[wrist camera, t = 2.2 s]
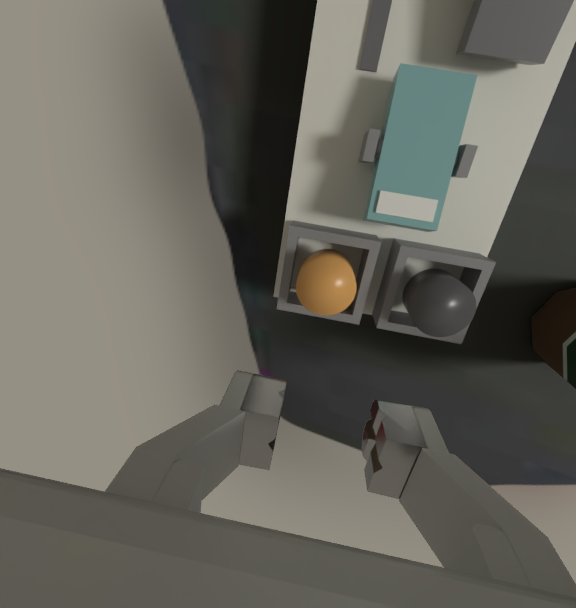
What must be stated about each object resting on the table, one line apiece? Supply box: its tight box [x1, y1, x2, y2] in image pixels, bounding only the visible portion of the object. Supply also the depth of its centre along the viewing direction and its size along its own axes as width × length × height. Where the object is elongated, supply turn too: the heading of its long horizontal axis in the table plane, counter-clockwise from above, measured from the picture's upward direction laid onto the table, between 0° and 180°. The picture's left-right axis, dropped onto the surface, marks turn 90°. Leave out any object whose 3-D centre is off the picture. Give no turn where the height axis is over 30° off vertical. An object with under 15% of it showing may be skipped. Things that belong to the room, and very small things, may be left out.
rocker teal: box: [363, 63, 477, 232], centre depth 18 cm, size 8×4×2 cm, turn 171°
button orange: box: [296, 249, 357, 316], centre depth 20 cm, size 4×4×2 cm
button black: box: [402, 269, 476, 337], centre depth 20 cm, size 4×4×2 cm
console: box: [273, 0, 576, 344], centre depth 19 cm, size 28×14×7 cm, turn 171°
